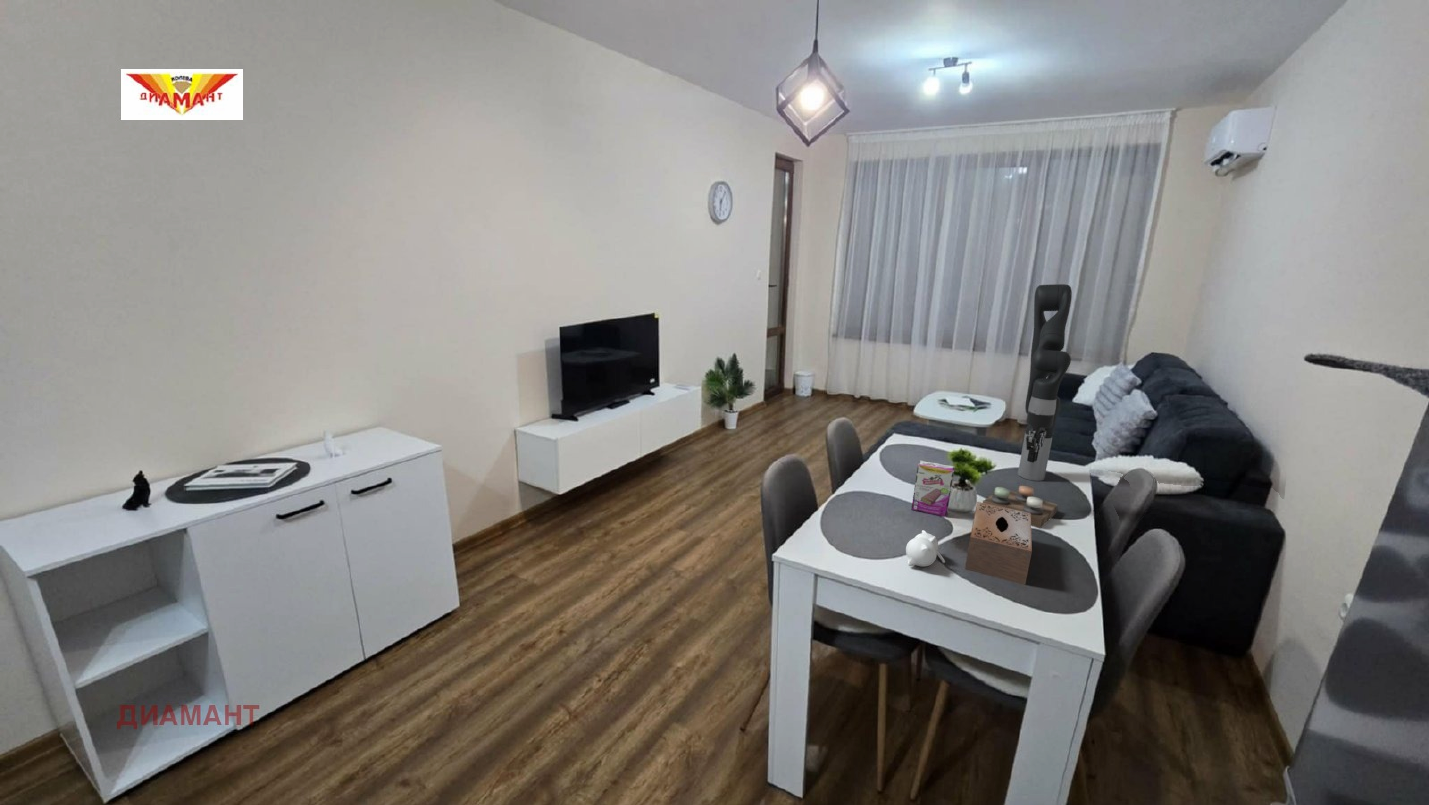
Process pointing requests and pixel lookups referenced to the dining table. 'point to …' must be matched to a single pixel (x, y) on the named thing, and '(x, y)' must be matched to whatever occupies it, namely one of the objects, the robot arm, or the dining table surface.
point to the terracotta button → (1026, 490)
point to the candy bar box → (932, 488)
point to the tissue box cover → (1000, 543)
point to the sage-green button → (1002, 492)
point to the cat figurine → (923, 550)
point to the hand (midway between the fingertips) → (1031, 460)
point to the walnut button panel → (1025, 507)
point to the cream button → (1034, 502)
